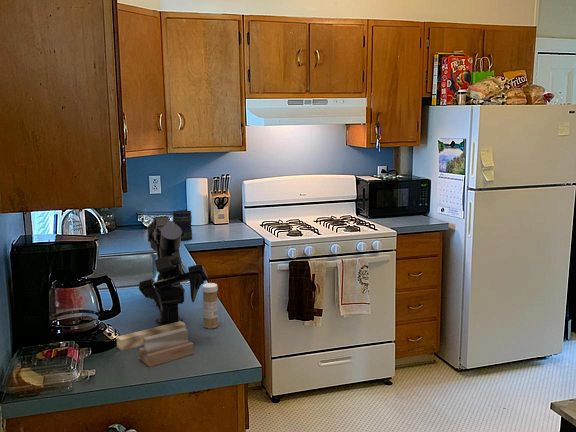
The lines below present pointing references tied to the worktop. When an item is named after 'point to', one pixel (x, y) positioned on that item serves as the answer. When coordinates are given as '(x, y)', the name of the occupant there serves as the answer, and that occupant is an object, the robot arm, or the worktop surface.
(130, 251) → the worktop surface
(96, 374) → the worktop surface
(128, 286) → the worktop surface
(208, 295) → the sprinkles bottle
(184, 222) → the storage jar
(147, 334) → the batten
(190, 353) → the ridge
